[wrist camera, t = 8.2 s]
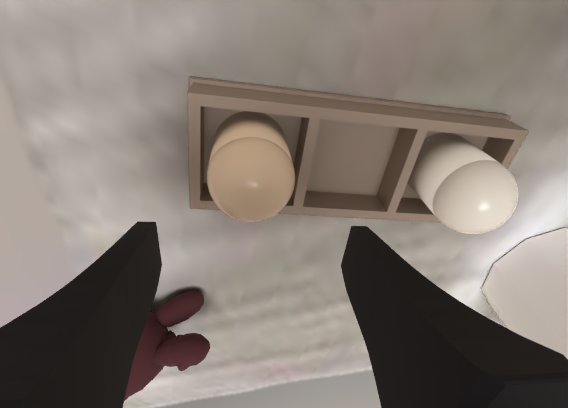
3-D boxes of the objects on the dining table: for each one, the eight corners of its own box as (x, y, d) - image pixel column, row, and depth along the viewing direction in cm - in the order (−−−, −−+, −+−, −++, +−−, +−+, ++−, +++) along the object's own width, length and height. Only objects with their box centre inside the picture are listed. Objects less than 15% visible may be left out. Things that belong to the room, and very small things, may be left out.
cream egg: (480, 135, 21) (557, 183, 16) (452, 193, 23) (511, 251, 18) (417, 128, 20) (476, 176, 15) (395, 189, 23) (439, 248, 18)
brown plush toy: (53, 444, 26) (231, 377, 25) (-40, 436, 20) (185, 350, 20) (69, 355, 30) (219, 298, 30) (-2, 328, 25) (180, 258, 25)
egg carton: (505, 114, 21) (534, 128, 19) (457, 207, 25) (477, 227, 23) (190, 76, 18) (183, 87, 16) (191, 189, 22) (186, 211, 20)
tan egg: (290, 113, 19) (306, 159, 14) (283, 179, 21) (294, 240, 16) (212, 108, 18) (199, 154, 13) (214, 177, 21) (203, 239, 16)
